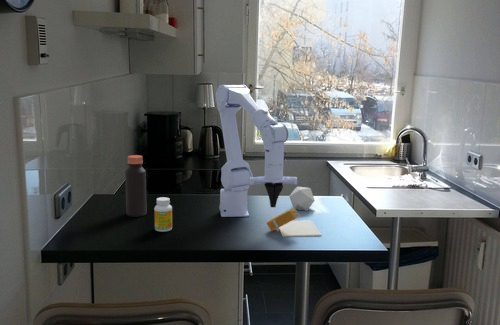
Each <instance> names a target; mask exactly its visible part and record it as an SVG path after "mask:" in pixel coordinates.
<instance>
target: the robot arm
mask: <svg viewBox="0 0 500 325" xmlns="http://www.w3.org/2000/svg"><path fill="white" fill-rule="evenodd" d="M215 100H216V107H217V111H218V112H219V117H220V118H219V119H220V123H221V130H222V136H223V143H224V149H225V156H226V162H225V164H223V166H222V167H221V168H220V170H221V171H220V172H221V177H220V181H221V185H222V186H223V187H224V188H221V189H220V190H219V192H220V195H219V196H220V197H219V201H220V202H219V206H218V207H219V211H220V212H219V213H220V217H221V218H222V217H223V218H226V217H227V218H228V217H229V218H230V217H234V218H235V217H239V218H240V217H249V216H250V214H249V211H248V190H249V189H250V187H251V186H253V185H264V187H265V189H266V192H267V195H268V199H269V207H270V208H276V206H277V201H278V198H279V196H280V194H281V192H282V190H283V188H284V185H289V184H290V185H298V177H297V176H284V159H285V158H284V154H285V143H286V142H287V141H288V139H289V129H288V127H287V126H286V124H284V123H280V122H277V121H276V120H275V119H274V117H272V116H271V114H270V113H269V110H267V109H264V108H260V107H259V106H258V104H257V103H256V101H255V100H254V99H253V98H252V96H251V90H250V89H249V87H247V85H245V84H220V85H219V86H218V87H217V90H216V93H215ZM242 108H243V109H244V111H246V112H247V113H248V114H249V115H250V117H251V123H252V124H253V125H254V127H256V129H257V130H258V131H259V132H260V133H261V134H260V138H261V140H262V143H263V149H264V175H263V176H253V175H254V174H253V173H252V170H251V167H250V164H249V163H248V162H247V161H245V160H244V159H243V154H242V148H241V141H240V134H239V128H238V122H237V115H236V114H237V113H238V111H240V110H241V109H242Z"/></svg>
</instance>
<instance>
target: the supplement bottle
mask: <svg viewBox="0 0 500 325" xmlns="http://www.w3.org/2000/svg"><path fill="white" fill-rule="evenodd" d="M170 199H171V198H169V197H164V196H162V197H161V196H160V197H157V198H156V205H155V206H154V208H153V210H154V230H155V231H157V232H162V233H163V232H164V233H165V232H169V231H171V230H172V229H173V206H172V205H171V204H170V203H171V201H170Z"/></svg>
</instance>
